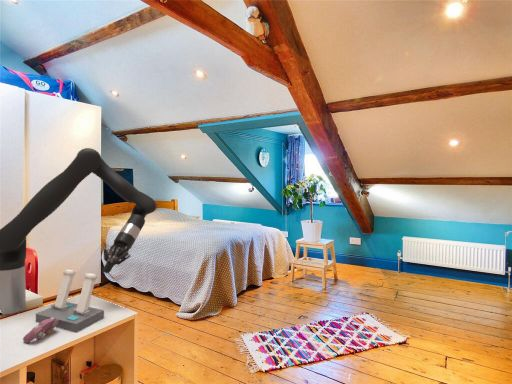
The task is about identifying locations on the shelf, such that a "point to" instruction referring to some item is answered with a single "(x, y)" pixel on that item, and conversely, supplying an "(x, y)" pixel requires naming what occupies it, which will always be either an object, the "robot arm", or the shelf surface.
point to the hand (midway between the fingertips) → (105, 272)
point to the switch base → (71, 316)
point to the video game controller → (41, 329)
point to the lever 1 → (64, 288)
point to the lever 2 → (86, 293)
